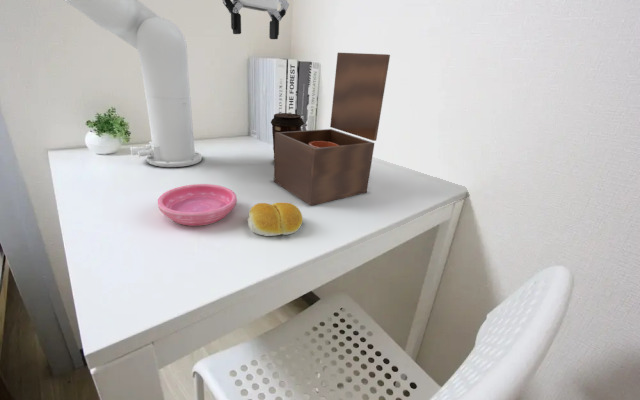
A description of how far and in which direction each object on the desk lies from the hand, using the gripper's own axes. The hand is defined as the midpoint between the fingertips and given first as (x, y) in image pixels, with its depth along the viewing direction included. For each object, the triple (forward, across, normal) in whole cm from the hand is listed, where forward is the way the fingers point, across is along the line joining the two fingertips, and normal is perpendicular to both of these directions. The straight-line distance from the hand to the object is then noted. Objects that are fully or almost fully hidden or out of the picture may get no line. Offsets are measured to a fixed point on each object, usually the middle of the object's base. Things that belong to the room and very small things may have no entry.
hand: (255, 36), depth 74 cm
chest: (+30, -3, +26) cm, 40 cm away
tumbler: (+30, -3, +26) cm, 40 cm away
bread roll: (+31, +15, +37) cm, 50 cm away
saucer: (+31, +24, +27) cm, 47 cm away
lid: (+10, -10, +26) cm, 30 cm away
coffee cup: (+31, -5, +8) cm, 32 cm away
